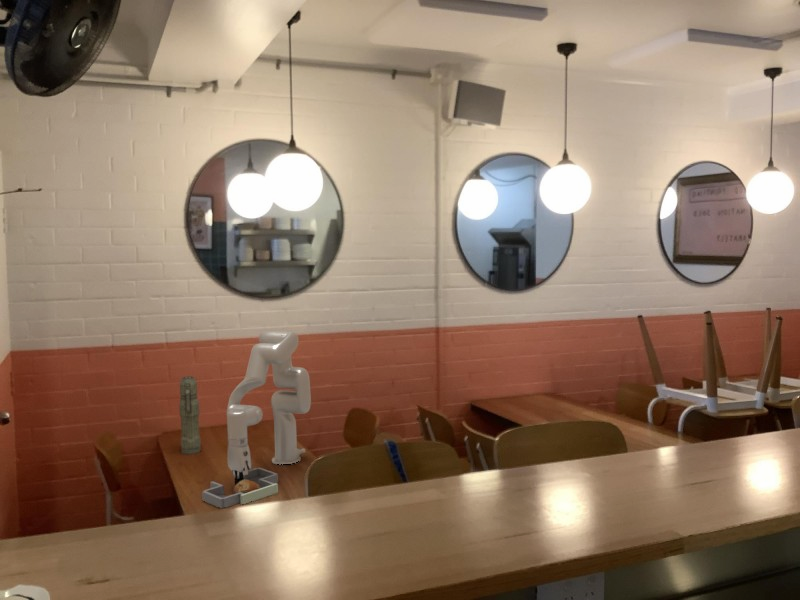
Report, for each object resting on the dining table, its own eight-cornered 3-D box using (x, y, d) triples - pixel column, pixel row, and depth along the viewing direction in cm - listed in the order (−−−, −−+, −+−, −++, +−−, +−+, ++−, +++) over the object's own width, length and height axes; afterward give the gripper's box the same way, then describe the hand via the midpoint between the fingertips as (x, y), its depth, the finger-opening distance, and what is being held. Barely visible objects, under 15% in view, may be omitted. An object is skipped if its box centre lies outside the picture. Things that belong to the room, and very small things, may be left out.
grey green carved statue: (181, 456, 330) (178, 380, 326) (180, 449, 341) (177, 375, 337) (202, 454, 332) (198, 379, 329) (200, 447, 344) (197, 374, 340)
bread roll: (243, 499, 285) (233, 481, 285) (265, 489, 284) (256, 471, 284) (235, 509, 275) (225, 490, 275) (258, 498, 274) (249, 479, 274)
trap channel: (259, 475, 302) (258, 467, 302) (293, 487, 287) (292, 478, 287) (192, 496, 279) (191, 487, 279) (225, 510, 264) (225, 501, 264)
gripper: (257, 442, 281) (258, 488, 283) (234, 436, 291) (236, 480, 293) (240, 447, 275) (242, 494, 277) (218, 440, 285) (220, 485, 287)
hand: (239, 487), depth 285 cm, fingers closed
